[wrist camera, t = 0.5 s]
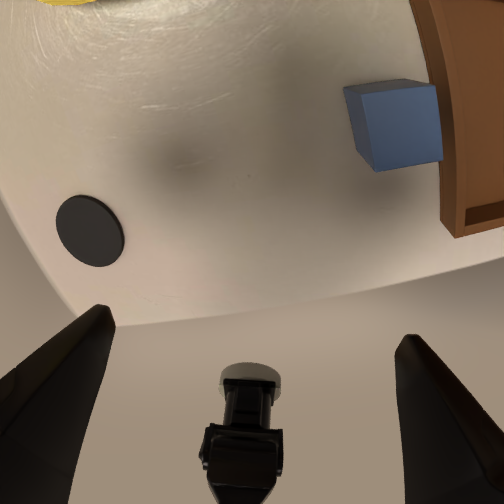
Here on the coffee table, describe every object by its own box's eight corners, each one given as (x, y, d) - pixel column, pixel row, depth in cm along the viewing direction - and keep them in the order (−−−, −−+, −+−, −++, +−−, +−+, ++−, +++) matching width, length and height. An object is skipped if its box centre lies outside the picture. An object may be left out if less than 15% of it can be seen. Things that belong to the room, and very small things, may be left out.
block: (356, 150, 17) (375, 173, 14) (342, 87, 15) (360, 94, 12) (414, 140, 16) (443, 160, 13) (404, 78, 14) (435, 85, 11)
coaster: (131, 266, 24) (129, 269, 23) (70, 262, 24) (68, 264, 24) (114, 193, 20) (112, 196, 20) (49, 197, 20) (47, 199, 20)
